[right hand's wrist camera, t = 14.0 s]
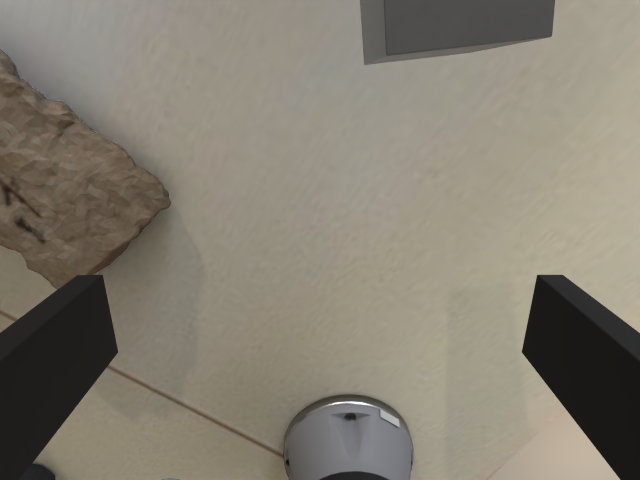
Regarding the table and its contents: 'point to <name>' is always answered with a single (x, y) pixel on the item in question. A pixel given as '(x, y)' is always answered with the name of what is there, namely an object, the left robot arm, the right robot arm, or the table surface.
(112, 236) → the stone
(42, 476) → the robot
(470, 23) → the box
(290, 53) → the table surface
